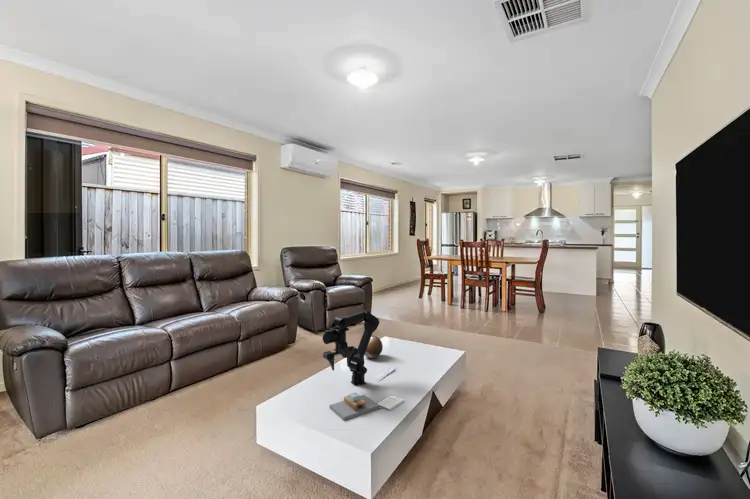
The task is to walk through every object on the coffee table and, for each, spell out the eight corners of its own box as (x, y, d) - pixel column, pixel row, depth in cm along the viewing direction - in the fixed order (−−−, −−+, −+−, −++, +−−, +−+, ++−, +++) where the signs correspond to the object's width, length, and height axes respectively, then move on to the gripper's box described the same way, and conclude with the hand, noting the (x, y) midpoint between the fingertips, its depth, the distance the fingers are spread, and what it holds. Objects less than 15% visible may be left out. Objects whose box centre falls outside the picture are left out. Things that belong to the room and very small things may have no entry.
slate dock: (364, 397, 179) (364, 394, 179) (379, 408, 167) (379, 405, 167) (329, 408, 167) (329, 405, 167) (343, 420, 156) (343, 417, 156)
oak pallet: (354, 399, 173) (354, 393, 173) (365, 407, 165) (365, 401, 165) (344, 402, 170) (344, 396, 169) (354, 411, 161) (354, 404, 161)
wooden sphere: (358, 359, 234) (357, 338, 234) (365, 353, 248) (364, 332, 248) (379, 362, 230) (379, 339, 229) (385, 354, 244) (385, 333, 244)
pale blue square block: (355, 396, 170) (355, 392, 170) (360, 399, 167) (360, 395, 167) (348, 398, 168) (348, 394, 168) (352, 401, 164) (352, 397, 164)
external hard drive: (376, 407, 170) (391, 397, 179) (389, 412, 164) (404, 402, 174) (376, 403, 170) (391, 394, 179) (389, 408, 164) (404, 399, 174)
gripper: (332, 346, 174) (332, 377, 174) (363, 340, 185) (363, 369, 185) (322, 341, 183) (322, 370, 184) (352, 335, 194) (352, 363, 194)
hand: (340, 368), depth 186 cm, fingers open, 9 cm apart
